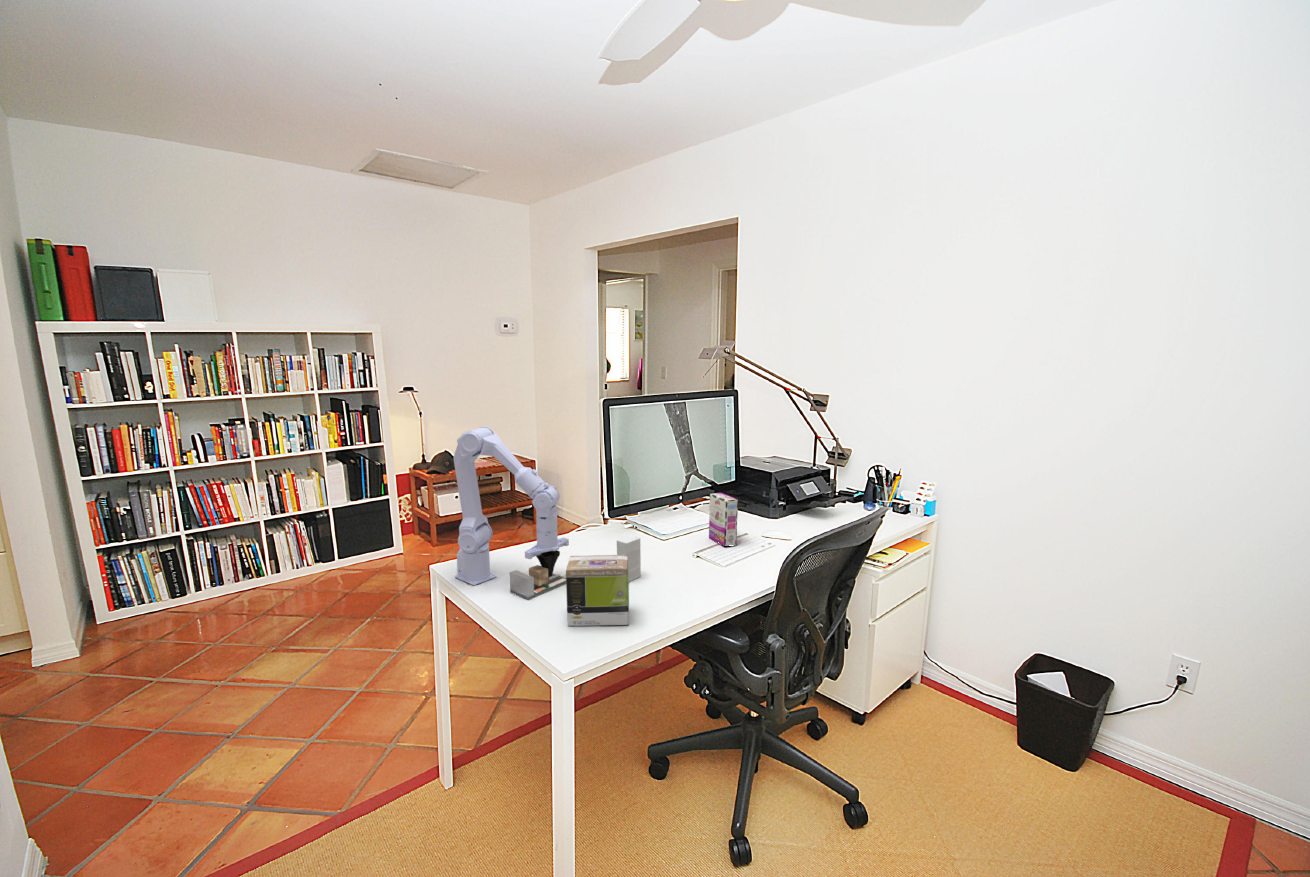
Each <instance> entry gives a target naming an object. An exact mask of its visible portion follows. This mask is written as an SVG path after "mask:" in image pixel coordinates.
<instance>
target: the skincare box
mask: <svg viewBox="0 0 1310 877" xmlns="http://www.w3.org/2000/svg"><path fill="white" fill-rule="evenodd" d="M616 555H628V575H629V582H632V581H633V580H635V579H638V578H640V577H641V576H642V575H641V572H642V571H641V569H642V567H641V564H642V563H641V560H642V558H641V537H638V536H635V535H631V534H630V535H629V534H628V535H626V536H624V537H622V538H619V539H617V540H616Z"/></svg>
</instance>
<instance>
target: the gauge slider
mask: <svg viewBox="0 0 1310 877" xmlns="http://www.w3.org/2000/svg"><path fill="white" fill-rule="evenodd" d="M528 575H529V576H532V577H534V584H535V585H538V586H541V585H542V586H544V587H549V585H547V584H546V583H548V581H549V569H548V568H545V567H542V566H541V565H539V564H536V565H534V566H531V567H528Z"/></svg>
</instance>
